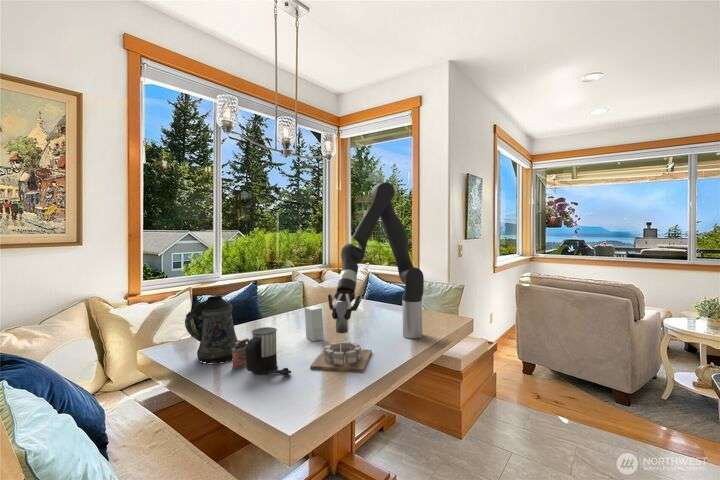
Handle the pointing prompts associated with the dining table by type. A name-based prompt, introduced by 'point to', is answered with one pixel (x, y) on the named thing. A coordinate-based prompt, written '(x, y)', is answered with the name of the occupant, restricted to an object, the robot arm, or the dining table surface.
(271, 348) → the milk frother
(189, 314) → the beer stein
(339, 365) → the castellated collar
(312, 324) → the skincare box
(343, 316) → the metal pin
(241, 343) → the lighter
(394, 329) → the dining table surface
